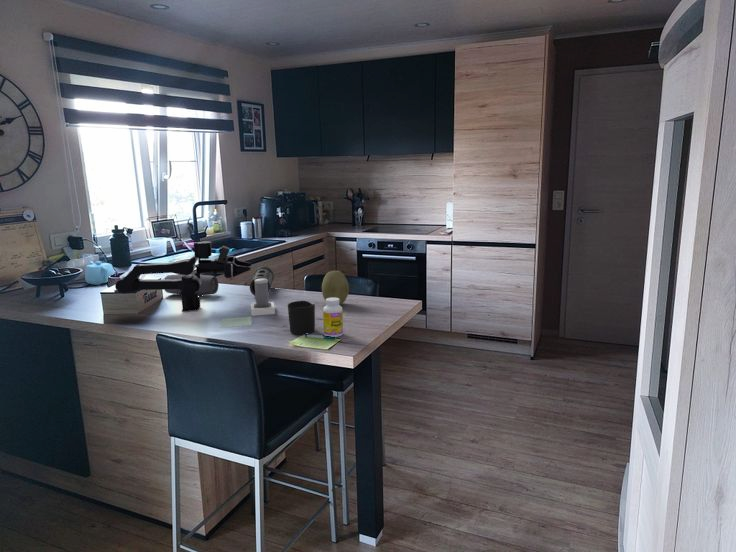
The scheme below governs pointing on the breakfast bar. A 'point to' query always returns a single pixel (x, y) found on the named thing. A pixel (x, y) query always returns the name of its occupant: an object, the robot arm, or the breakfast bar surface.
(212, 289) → the bluetooth speaker
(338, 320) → the supplement bottle
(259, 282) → the grey rectangular block
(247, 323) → the pad
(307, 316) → the pen holder
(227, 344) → the breakfast bar surface
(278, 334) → the breakfast bar surface
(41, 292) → the breakfast bar surface
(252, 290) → the muzzle brake
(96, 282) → the teapot
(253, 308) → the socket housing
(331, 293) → the fruit
